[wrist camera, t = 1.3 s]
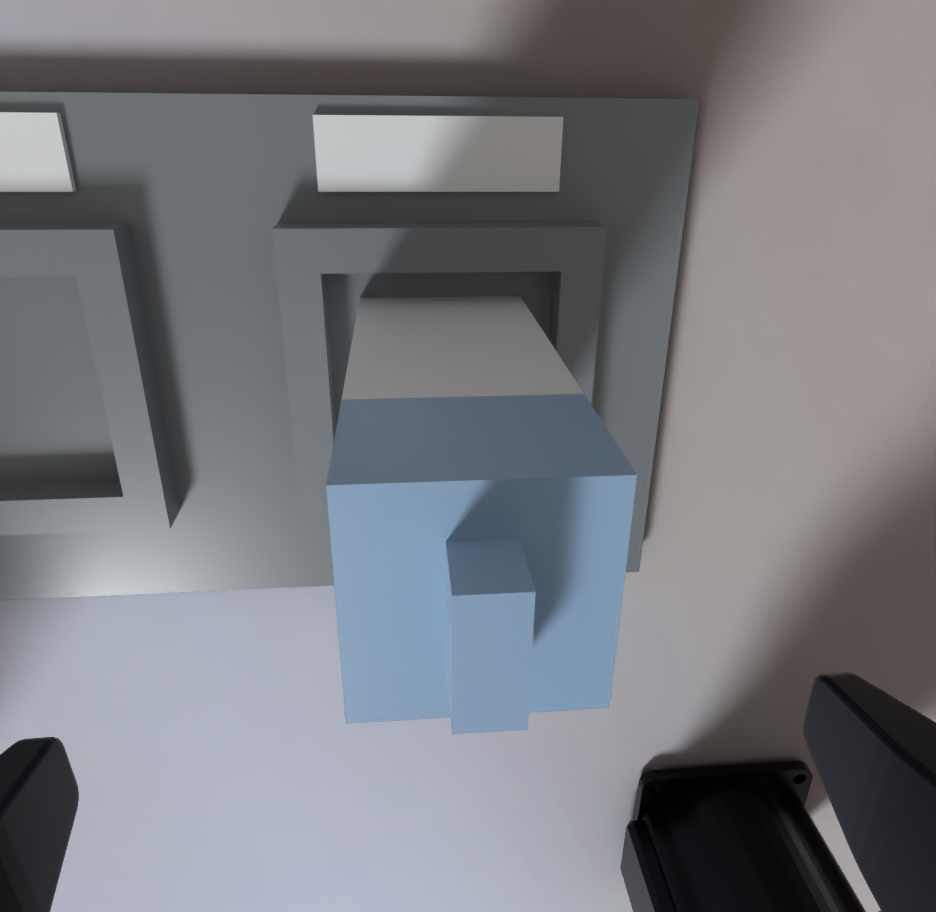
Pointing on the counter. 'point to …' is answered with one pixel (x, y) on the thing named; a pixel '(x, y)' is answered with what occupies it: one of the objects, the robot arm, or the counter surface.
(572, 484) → the plug
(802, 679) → the counter surface
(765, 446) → the counter surface
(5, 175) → the panel
